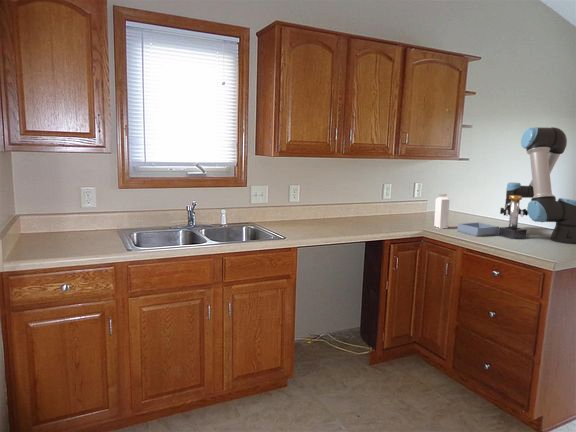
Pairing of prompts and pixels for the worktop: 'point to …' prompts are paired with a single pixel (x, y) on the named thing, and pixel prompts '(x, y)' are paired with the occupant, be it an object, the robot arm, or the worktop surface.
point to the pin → (514, 211)
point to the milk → (441, 211)
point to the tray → (478, 229)
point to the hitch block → (512, 233)
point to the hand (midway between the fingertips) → (514, 214)
